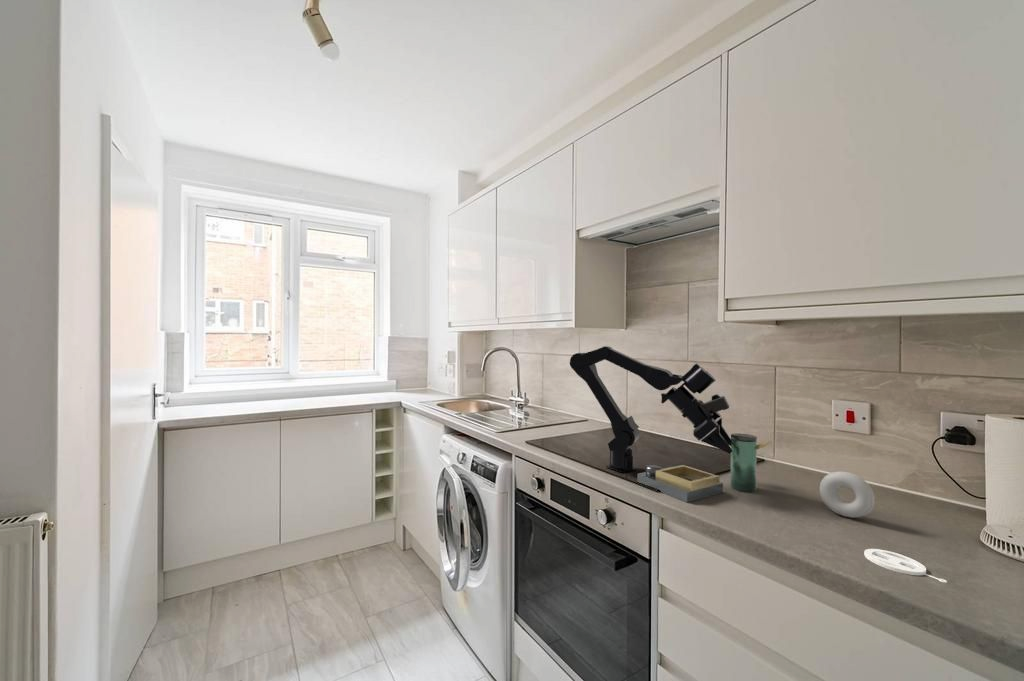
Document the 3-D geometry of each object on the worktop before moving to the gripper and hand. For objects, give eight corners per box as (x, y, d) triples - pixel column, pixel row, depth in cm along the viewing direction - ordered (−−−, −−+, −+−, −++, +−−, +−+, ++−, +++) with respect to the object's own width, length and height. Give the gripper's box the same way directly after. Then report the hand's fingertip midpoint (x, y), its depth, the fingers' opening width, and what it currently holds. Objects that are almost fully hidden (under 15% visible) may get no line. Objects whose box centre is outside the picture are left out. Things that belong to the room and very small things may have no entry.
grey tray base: (637, 482, 116) (637, 466, 116) (671, 475, 122) (671, 459, 122) (687, 502, 102) (687, 484, 102) (722, 492, 109) (722, 475, 109)
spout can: (729, 489, 111) (730, 436, 111) (730, 482, 116) (731, 432, 116) (771, 496, 106) (772, 441, 106) (770, 489, 112) (771, 436, 112)
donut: (876, 522, 92) (877, 476, 92) (872, 526, 89) (873, 479, 89) (821, 507, 99) (822, 465, 99) (817, 511, 97) (817, 468, 97)
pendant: (873, 549, 80) (873, 545, 80) (955, 577, 71) (955, 573, 71) (857, 558, 76) (857, 554, 76) (940, 590, 67) (941, 585, 67)
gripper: (707, 389, 108) (756, 436, 102) (712, 382, 124) (755, 423, 119) (674, 416, 112) (720, 464, 106) (683, 407, 128) (724, 447, 123)
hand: (731, 448), depth 113 cm, fingers open, 9 cm apart
